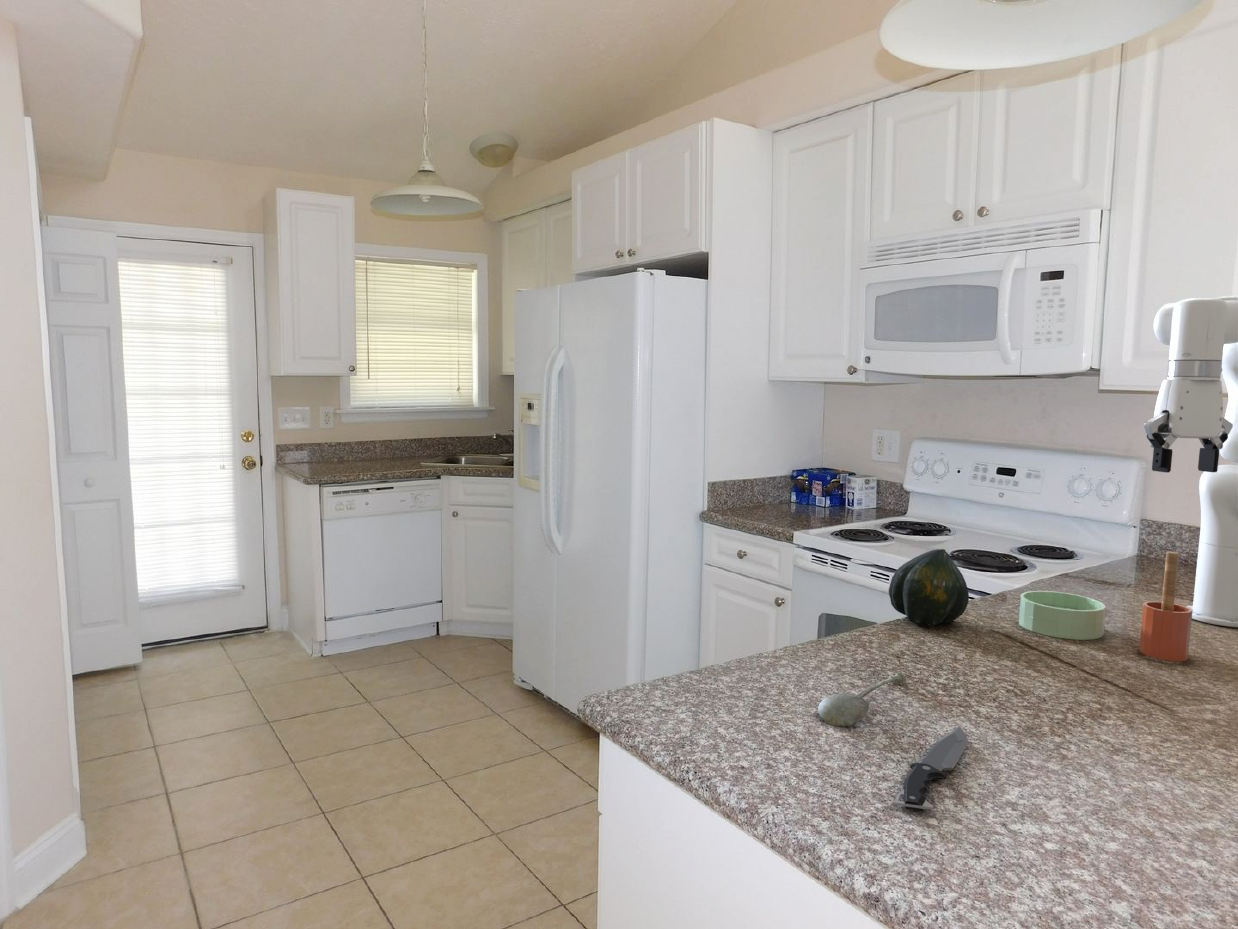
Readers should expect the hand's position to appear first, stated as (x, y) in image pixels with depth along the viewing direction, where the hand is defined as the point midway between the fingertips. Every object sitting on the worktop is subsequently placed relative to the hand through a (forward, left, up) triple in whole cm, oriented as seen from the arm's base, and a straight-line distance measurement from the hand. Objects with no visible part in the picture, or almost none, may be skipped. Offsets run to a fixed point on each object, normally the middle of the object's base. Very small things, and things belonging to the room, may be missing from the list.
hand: (1184, 471), depth 140 cm
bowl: (+10, -14, -32) cm, 37 cm away
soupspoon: (+65, +12, -32) cm, 74 cm away
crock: (+3, +2, -32) cm, 33 cm away
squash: (+32, -24, -32) cm, 52 cm away
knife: (+67, +32, -32) cm, 81 cm away
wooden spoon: (+3, +2, -32) cm, 32 cm away
